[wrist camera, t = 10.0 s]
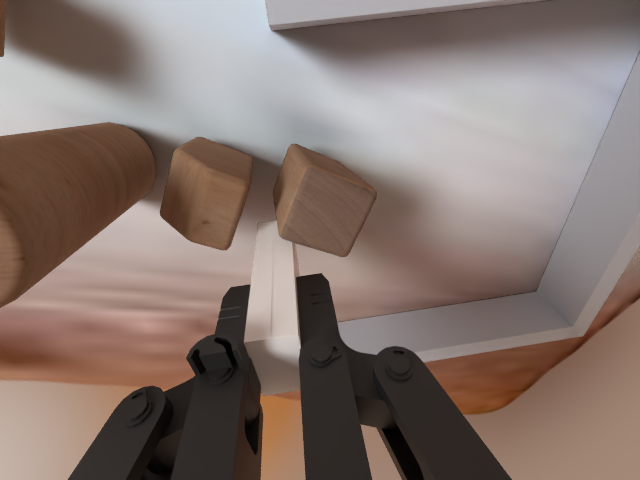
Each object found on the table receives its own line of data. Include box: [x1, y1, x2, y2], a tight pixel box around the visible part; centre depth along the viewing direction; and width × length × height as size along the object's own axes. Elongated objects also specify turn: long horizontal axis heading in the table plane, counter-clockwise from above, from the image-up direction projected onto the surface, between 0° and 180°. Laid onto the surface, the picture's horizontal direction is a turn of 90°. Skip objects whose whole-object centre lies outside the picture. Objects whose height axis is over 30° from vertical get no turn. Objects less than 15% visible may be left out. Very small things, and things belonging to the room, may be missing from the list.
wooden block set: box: [0, 0, 377, 308], centre depth 11 cm, size 18×9×10 cm, turn 66°
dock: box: [265, 0, 640, 362], centre depth 19 cm, size 24×22×4 cm
